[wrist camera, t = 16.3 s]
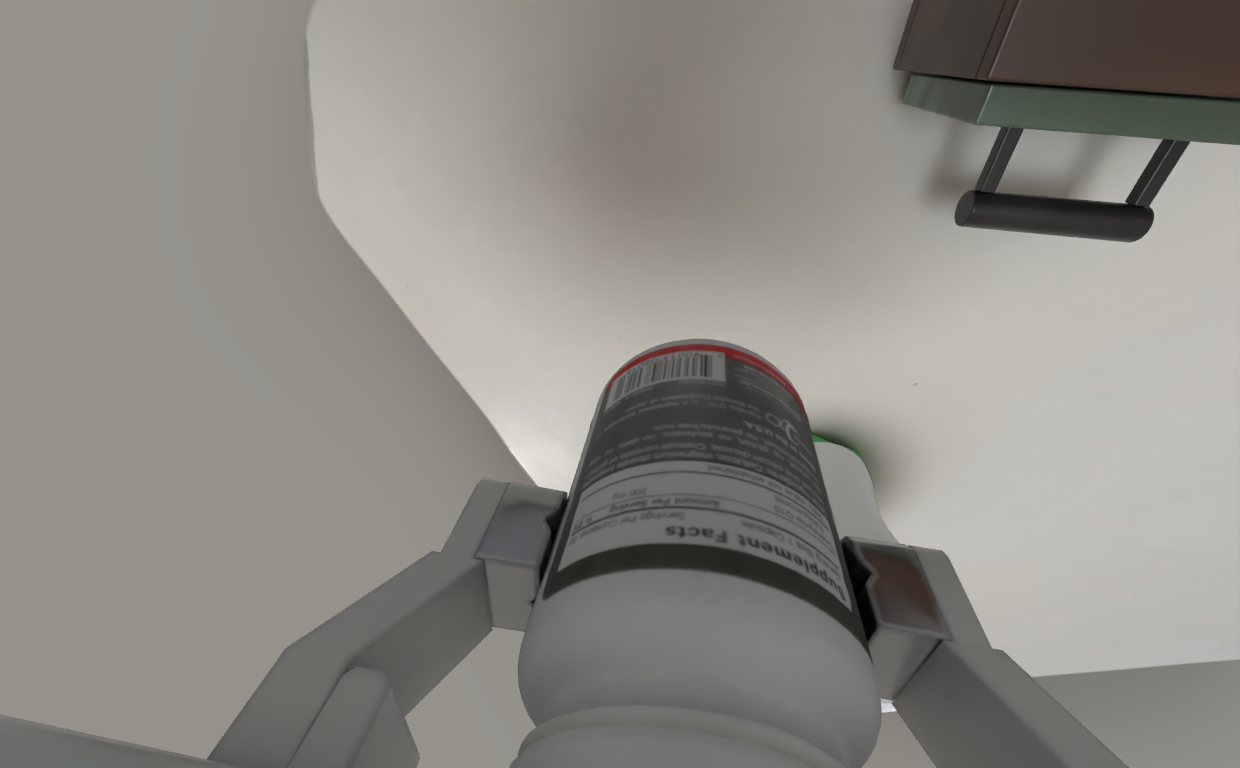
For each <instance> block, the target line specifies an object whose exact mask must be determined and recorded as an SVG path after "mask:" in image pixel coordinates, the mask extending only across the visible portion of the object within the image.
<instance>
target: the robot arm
mask: <svg viewBox="0 0 1240 768" xmlns="http://www.w3.org/2000/svg"><path fill="white" fill-rule="evenodd" d="M566 504H567V493H566V492H564V491H558V490H553V489H548V488H542V487H537V486H532V485H526V484H521V483H515V482H508V481H502V480H497V479H491V478H486V477H484V478H483V479H482V480H481V481H480V482H479V483H478V484H477V486H476V487H475V489H474V491H473V493H472V495H471V497H470V499H469V501H468V502H467V504H466V506H465V508H464V510H463V512H462V514H461V515H460V517H459V519H458V521H457V523H456V525H455V527H454V528H453V531H452V533H451V534H450V536H449V538H448V540H447V542H446V543H445V545H444V547H443V549H442V551H441V552H433V551H432V552H430V553H429V554H427V555H426V556H424V557H423V558H421V559H420V560H418V561H417V562H415V563H414V564H412V565H411V566H409V567H408V568H406V569H405V570H403V571H402V572H400V573H399V574H397V575H396V576H394V577H393V578H391V579H389V580H388V581H387V582H385V583H384V584H382V585H381V586H379V587H377V588H376V589H374V590H373V591H371V592H370V593H368V594H367V595H365V596H364V597H362V598H361V599H360V600H358V601H357V602H355V603H353V604H352V605H350V606H349V607H347V608H346V609H345V610H343V611H341V612H340V613H338V614H337V615H335V616H334V617H332V618H331V619H329V620H328V621H326V622H325V623H323V624H322V625H320V626H319V627H317V628H316V629H314V630H313V631H311V632H310V633H308V634H307V635H305V636H303V637H302V638H300V639H299V640H297V641H296V642H295V643H293V644H291V645H290V646H288V647H287V648H286V649H285V650H284V651H283V653H282V654H281V655H280V657H279V658H278V660H277V661H276V663H275V664H274V665H273V667H272V668H271V670H270V671H269V672H268V674H267V675H266V676H265V678H264V680H263V681H262V682H261V683H260V685H259V686H258V688H257V689H256V691H255V692H254V693H253V695H252V696H251V698H250V699H249V700H248V702H247V703H246V705H245V706H244V707H243V709H242V710H241V712H240V713H239V714H238V716H237V717H236V719H235V720H234V722H233V723H232V724H231V726H230V727H229V728H228V730H227V731H226V733H225V734H224V736H223V737H222V739H221V740H220V741H219V743H218V744H217V746H216V747H215V748H214V750H213V751H212V752H211V754H210V755H209V757H208V758H207V760H205V759H201V758H196V757H192V756H187V755H183V754H178V753H174V752H169V751H164V750H160V749H156V748H151V747H146V746H142V745H137V744H133V743H128V742H124V741H119V740H115V739H110V738H105V737H101V736H96V735H91V734H87V733H83V732H78V731H74V730H69V729H64V728H60V727H55V726H51V725H46V724H42V723H37V722H32V721H28V720H23V719H18V718H14V717H10V716H5V715H0V768H416V767H417V764H418V762H419V759H420V757H419V753H418V750H417V747H416V745H415V742H414V739H413V737H412V735H411V732H410V730H409V727H408V725H407V722H406V720H405V716H406V715H407V714H408V713H409V712H410V711H411V710H412V709H413V708H414V707H415V706H416V705H417V704H418V703H419V702H420V701H421V700H422V699H423V698H424V697H425V696H426V695H427V694H428V693H429V692H430V691H431V690H432V689H433V688H434V687H435V686H436V685H437V684H438V683H439V682H440V681H441V680H442V679H443V678H444V677H445V676H446V675H447V674H448V673H449V672H451V671H452V669H453V668H455V667H456V666H457V665H458V664H459V663H460V662H461V661H462V660H463V659H464V658H465V657H466V656H467V655H468V654H469V653H470V652H471V651H472V650H473V649H474V648H475V647H476V646H477V645H478V644H479V643H480V642H481V641H482V640H483V639H484V638H485V637H486V636H487V635H488V634H489V633H490V632H491V631H492V627H497V628H504V629H510V630H517V631H523V632H525V630H526V627H527V623H528V619H529V616H530V613H531V610H532V607H533V604H534V601H535V597H536V594H537V591H538V588H539V586H540V584H541V581H542V578H543V575H544V572H545V569H546V565H547V562H548V559H549V556H550V553H551V550H552V545H553V542H554V538H555V535H556V532H557V530H558V528H559V525H560V522H561V519H562V515H563V512H564V510H565V507H566ZM840 543H841V546H842V550H843V554H844V558H845V562H846V566H847V569H848V573H849V577H850V580H851V584H852V588H853V591H854V595H855V599H856V602H857V606H858V610H859V613H860V617H861V621H862V624H863V628H864V632H865V635H866V639H867V643H868V646H869V650H870V654H871V657H872V661H873V665H874V669H875V673H876V678H877V683H878V687H879V692H880V697H881V698H882V699H886V700H891V701H893V702H892V705H893V706H894V708H895V709H896V711H897V712H898V713H899V715H900V716H901V718H902V719H903V720H904V722H905V723H906V725H907V726H908V727H909V729H910V730H911V732H912V733H913V735H914V736H915V737H916V739H917V740H918V742H919V743H920V744H921V746H922V747H923V749H924V750H925V752H926V753H927V755H928V756H929V757H930V759H931V760H932V762H933V763H934V765H935V766H936V767H937V768H1129V767H1128V766H1127V765H1125V764H1124V763H1123V762H1122V761H1121V760H1120V759H1119V758H1118V757H1117V756H1116V755H1115V754H1114V753H1112V752H1111V751H1110V750H1109V749H1108V748H1107V747H1106V746H1105V745H1104V744H1103V743H1102V742H1101V741H1099V740H1098V739H1097V738H1096V737H1095V736H1094V735H1093V734H1092V733H1091V732H1090V731H1089V730H1088V729H1087V728H1086V727H1085V726H1083V725H1082V724H1081V723H1080V722H1079V721H1078V720H1077V719H1076V718H1075V717H1074V716H1073V715H1072V714H1070V713H1069V712H1068V711H1067V710H1066V709H1065V708H1064V707H1063V706H1062V705H1061V704H1060V703H1059V702H1058V701H1056V700H1055V699H1054V698H1053V697H1052V696H1051V695H1050V694H1049V693H1048V692H1047V691H1046V690H1045V689H1044V688H1042V687H1041V686H1040V685H1039V684H1038V683H1037V682H1036V681H1035V680H1034V679H1033V678H1032V677H1031V676H1030V675H1029V674H1027V673H1026V672H1025V671H1024V670H1023V669H1022V668H1021V667H1020V666H1019V665H1018V664H1017V663H1016V662H1015V661H1013V660H1012V659H1011V658H1010V657H1009V656H1008V655H1007V654H1006V653H1005V652H1004V651H1003V650H998V649H993V648H992V647H991V645H990V643H989V641H988V639H987V637H986V635H985V633H984V630H983V628H982V626H981V624H980V622H979V620H978V618H977V616H976V614H975V612H974V610H973V608H972V605H971V603H970V601H969V599H968V597H967V595H966V593H965V591H964V589H963V587H962V585H961V582H960V580H959V578H958V576H957V574H956V572H955V570H954V568H953V566H952V564H951V562H950V560H949V558H948V556H947V555H946V554H945V553H944V552H943V551H942V550H936V549H929V548H923V547H916V546H910V545H909V546H907V545H905V544H899V543H892V542H885V541H878V540H872V539H865V538H858V537H851V536H845V537H844V538H842V539H841V540H840Z"/></svg>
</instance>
